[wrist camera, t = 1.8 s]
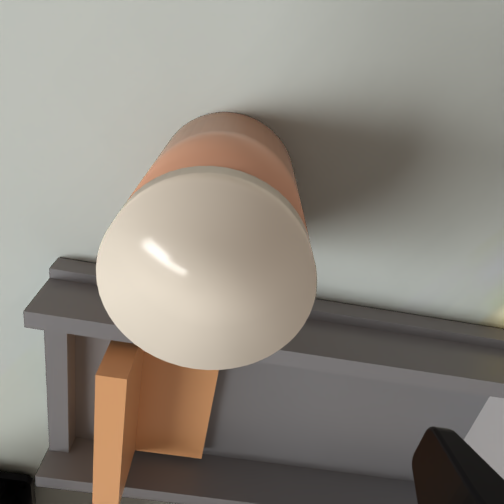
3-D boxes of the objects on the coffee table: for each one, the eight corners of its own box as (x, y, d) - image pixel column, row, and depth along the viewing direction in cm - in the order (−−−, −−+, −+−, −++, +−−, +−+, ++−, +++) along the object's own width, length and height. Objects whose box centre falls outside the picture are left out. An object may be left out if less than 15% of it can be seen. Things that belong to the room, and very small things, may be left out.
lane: (454, 486, 28) (495, 586, 23) (62, 435, 26) (17, 532, 21) (548, 336, 22) (630, 426, 17) (58, 257, 20) (-5, 333, 15)
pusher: (202, 450, 25) (193, 519, 21) (115, 438, 24) (92, 507, 21) (226, 330, 21) (219, 392, 17) (122, 315, 20) (95, 375, 17)
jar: (278, 250, 20) (290, 382, 13) (154, 229, 20) (93, 354, 12) (307, 126, 17) (343, 205, 10) (165, 99, 17) (98, 161, 10)
